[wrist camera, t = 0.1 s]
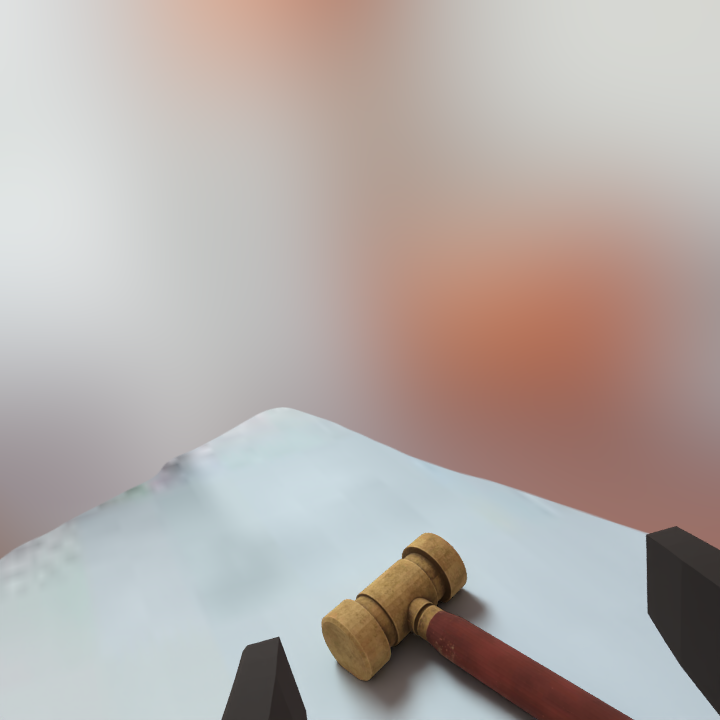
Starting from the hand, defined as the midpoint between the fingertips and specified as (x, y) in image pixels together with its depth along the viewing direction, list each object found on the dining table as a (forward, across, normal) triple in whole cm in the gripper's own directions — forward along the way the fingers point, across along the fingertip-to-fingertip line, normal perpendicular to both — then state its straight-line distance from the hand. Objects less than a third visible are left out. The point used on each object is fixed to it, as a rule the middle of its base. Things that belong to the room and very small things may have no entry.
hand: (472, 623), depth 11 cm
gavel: (+15, -4, +24) cm, 28 cm away
